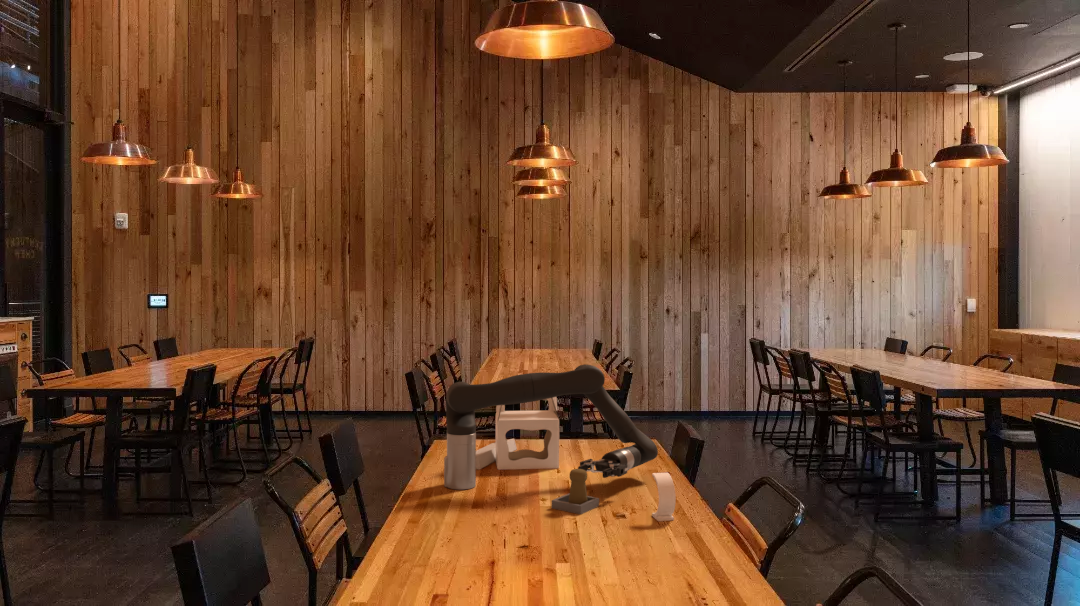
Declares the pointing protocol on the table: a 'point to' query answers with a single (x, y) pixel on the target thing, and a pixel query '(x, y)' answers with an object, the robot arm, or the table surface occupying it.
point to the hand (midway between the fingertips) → (591, 472)
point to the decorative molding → (490, 453)
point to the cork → (578, 486)
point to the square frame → (563, 504)
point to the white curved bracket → (665, 497)
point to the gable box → (528, 422)
